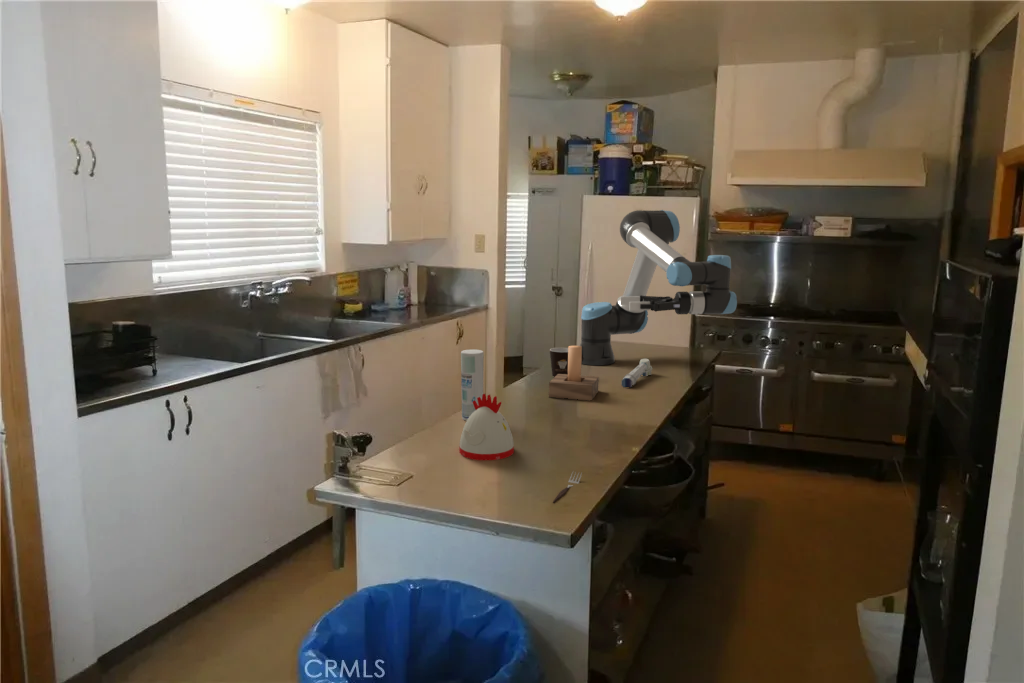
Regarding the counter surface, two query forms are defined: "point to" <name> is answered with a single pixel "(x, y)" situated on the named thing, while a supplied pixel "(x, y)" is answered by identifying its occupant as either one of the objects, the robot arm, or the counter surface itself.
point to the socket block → (573, 387)
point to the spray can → (471, 380)
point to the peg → (574, 363)
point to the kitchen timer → (486, 432)
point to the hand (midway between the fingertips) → (624, 303)
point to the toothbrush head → (637, 373)
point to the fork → (567, 487)
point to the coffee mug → (559, 361)
